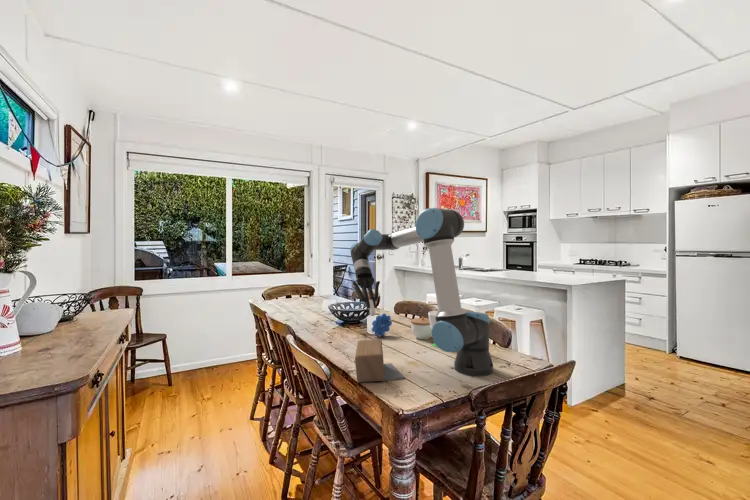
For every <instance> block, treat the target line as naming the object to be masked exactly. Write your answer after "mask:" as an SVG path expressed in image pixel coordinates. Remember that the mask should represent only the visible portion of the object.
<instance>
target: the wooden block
mask: <svg viewBox="0 0 750 500" xmlns="http://www.w3.org/2000/svg"><path fill="white" fill-rule="evenodd" d="M354 359H355V360H354V362H355V374H356V381H357V382H358V383H368V382H371V383H372V382H383V381H382V380H384V364H385V363H384V350H383V341H382V339H381V338H373V339H362V340H358V341H357V344H356V351H355V357H354Z"/></svg>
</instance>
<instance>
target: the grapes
mask: <svg viewBox="0 0 750 500" xmlns="http://www.w3.org/2000/svg"><path fill="white" fill-rule="evenodd" d="M392 324H393V321H391V316H390V315H387V314H386V313H382V314H381V315H376V316H375V319H374V320H373V321H372V323H371V326H372V327H371V332H373V333H374V335H375V336H380V337H381V336H385V334H386V333H388V332H390V329H391V326H392Z"/></svg>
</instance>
